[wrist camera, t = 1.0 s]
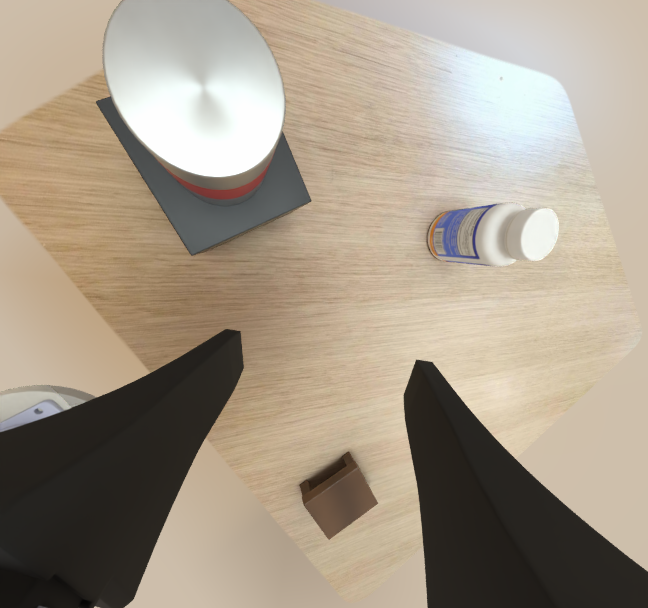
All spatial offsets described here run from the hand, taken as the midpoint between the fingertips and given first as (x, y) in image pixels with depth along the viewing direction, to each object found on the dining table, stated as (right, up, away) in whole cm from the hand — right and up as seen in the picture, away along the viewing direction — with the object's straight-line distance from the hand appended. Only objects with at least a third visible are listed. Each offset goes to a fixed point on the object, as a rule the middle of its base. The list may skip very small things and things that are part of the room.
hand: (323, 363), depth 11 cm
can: (-6, +11, +4) cm, 13 cm away
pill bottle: (+13, +10, +18) cm, 25 cm away
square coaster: (-8, +12, +10) cm, 18 cm away
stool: (+1, -20, +21) cm, 29 cm away
